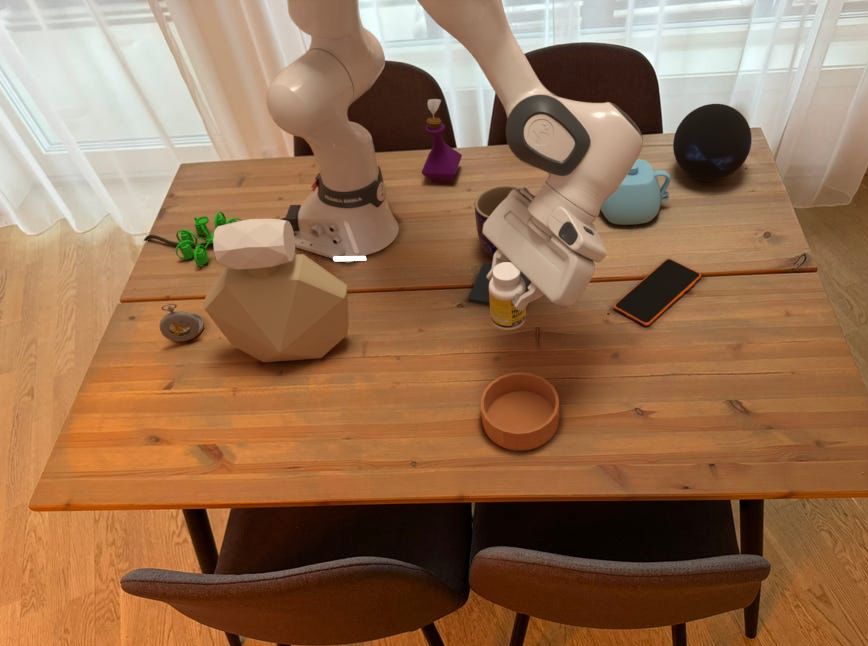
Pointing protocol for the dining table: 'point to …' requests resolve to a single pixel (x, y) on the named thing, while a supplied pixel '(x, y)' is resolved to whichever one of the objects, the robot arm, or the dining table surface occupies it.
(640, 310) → the smartphone
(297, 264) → the faceted beige jar
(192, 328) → the pocket watch
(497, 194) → the planter
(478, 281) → the mat
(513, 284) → the supplement bottle
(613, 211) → the teapot
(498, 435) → the round wooden tray
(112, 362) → the dining table surface
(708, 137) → the decorative sphere
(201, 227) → the chandelier
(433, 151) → the perfume bottle
